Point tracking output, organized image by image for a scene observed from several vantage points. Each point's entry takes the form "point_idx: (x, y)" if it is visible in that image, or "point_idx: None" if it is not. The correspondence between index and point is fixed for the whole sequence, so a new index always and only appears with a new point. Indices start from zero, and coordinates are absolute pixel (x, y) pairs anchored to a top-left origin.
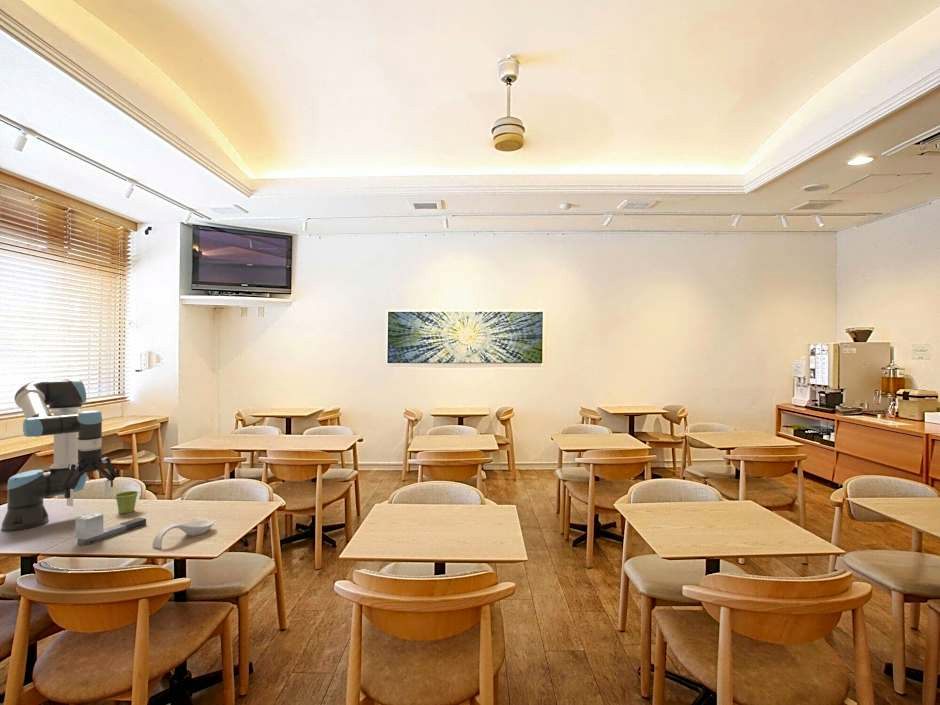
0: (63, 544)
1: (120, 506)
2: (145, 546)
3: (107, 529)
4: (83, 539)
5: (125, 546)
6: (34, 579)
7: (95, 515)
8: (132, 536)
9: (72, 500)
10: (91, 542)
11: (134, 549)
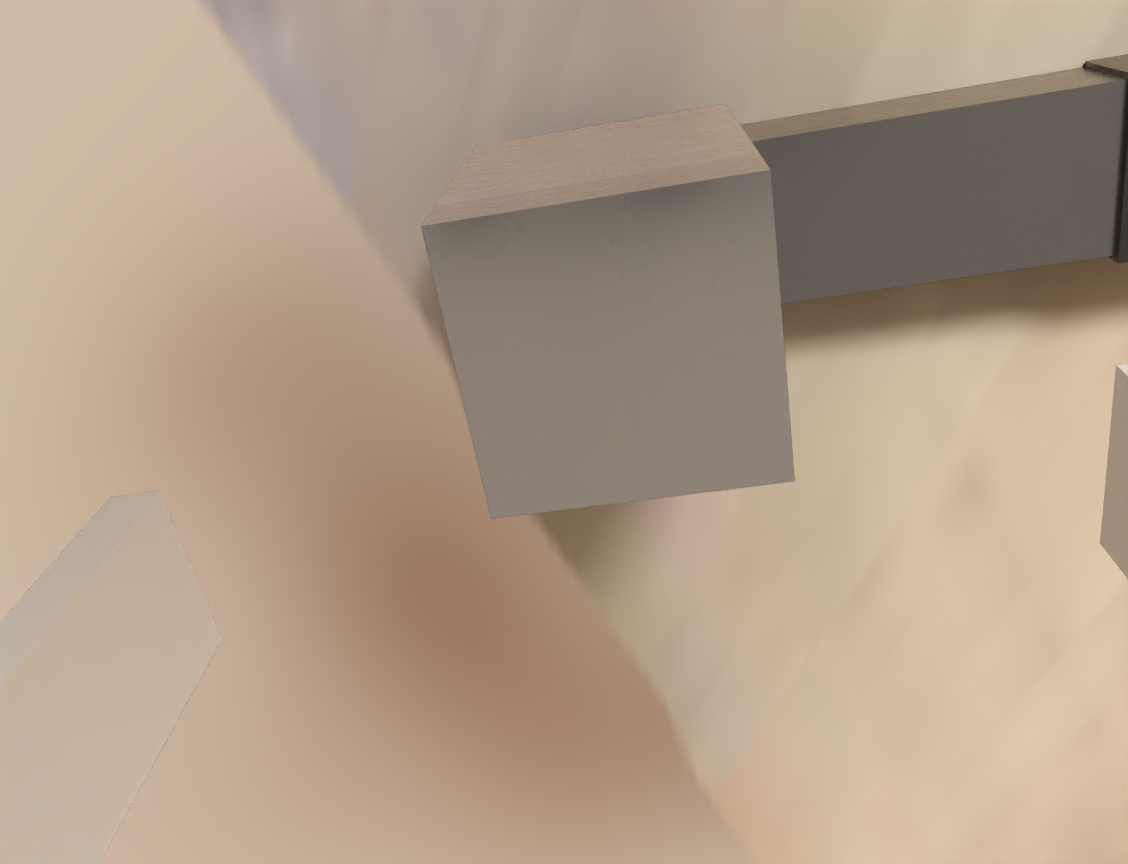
0: (378, 12)
1: None
2: (844, 830)
3: (874, 195)
4: None
5: (755, 697)
6: None
7: (692, 419)
8: (967, 489)
9: (145, 751)
10: None
11: (755, 817)
